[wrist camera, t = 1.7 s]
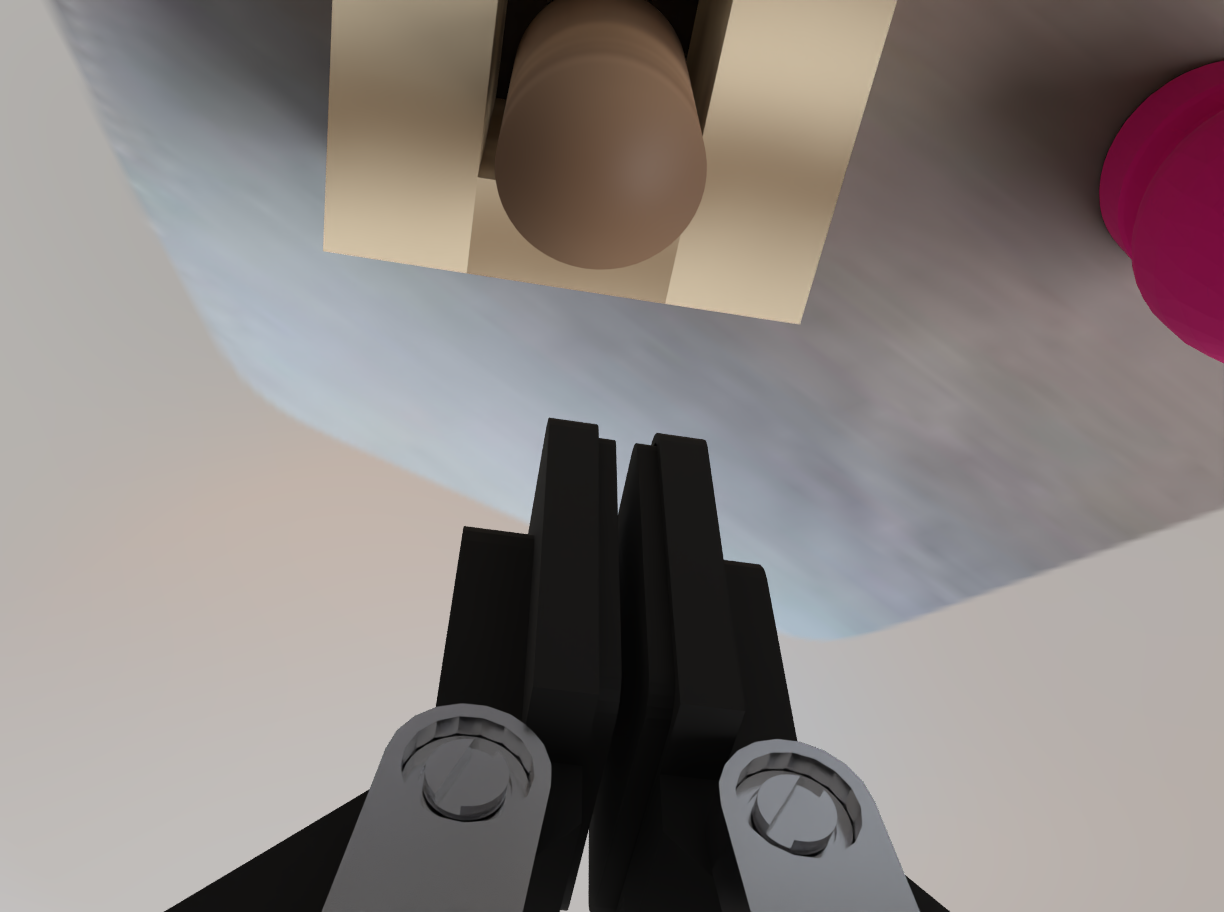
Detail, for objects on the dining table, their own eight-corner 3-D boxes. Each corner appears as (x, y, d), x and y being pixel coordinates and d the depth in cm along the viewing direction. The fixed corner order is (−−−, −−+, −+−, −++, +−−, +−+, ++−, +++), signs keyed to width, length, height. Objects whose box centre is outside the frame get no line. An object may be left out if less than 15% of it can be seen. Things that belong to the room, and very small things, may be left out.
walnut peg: (525, -28, 25) (508, 46, 20) (703, 4, 26) (728, 85, 21) (504, 147, 28) (483, 252, 23) (667, 174, 28) (682, 283, 23)
